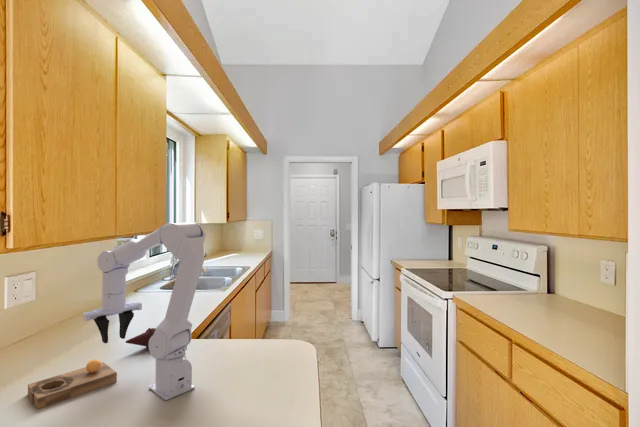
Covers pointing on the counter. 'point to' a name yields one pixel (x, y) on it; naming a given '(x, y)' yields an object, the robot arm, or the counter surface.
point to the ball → (93, 366)
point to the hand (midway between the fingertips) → (113, 340)
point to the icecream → (142, 338)
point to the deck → (69, 385)
